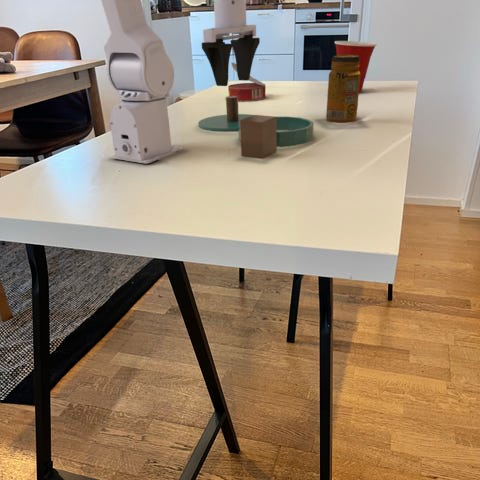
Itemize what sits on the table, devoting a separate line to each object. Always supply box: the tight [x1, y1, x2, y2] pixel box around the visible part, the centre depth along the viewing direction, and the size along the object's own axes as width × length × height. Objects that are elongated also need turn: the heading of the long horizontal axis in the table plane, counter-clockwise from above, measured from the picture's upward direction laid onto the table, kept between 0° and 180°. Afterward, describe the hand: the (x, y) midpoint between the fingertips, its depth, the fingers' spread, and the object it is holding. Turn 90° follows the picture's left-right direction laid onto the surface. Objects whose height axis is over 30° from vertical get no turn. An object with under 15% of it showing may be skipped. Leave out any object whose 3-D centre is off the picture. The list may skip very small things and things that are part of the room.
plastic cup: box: [334, 40, 378, 94], centre depth 126 cm, size 11×11×12 cm
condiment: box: [325, 54, 360, 124], centre depth 94 cm, size 7×8×12 cm
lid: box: [197, 95, 254, 132], centre depth 97 cm, size 14×14×6 cm
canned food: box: [227, 62, 267, 102], centre depth 126 cm, size 11×10×10 cm
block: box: [240, 114, 278, 160], centre depth 76 cm, size 4×4×6 cm
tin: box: [238, 116, 315, 148], centre depth 86 cm, size 13×13×3 cm
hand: (233, 82), depth 92 cm, fingers open, 7 cm apart
